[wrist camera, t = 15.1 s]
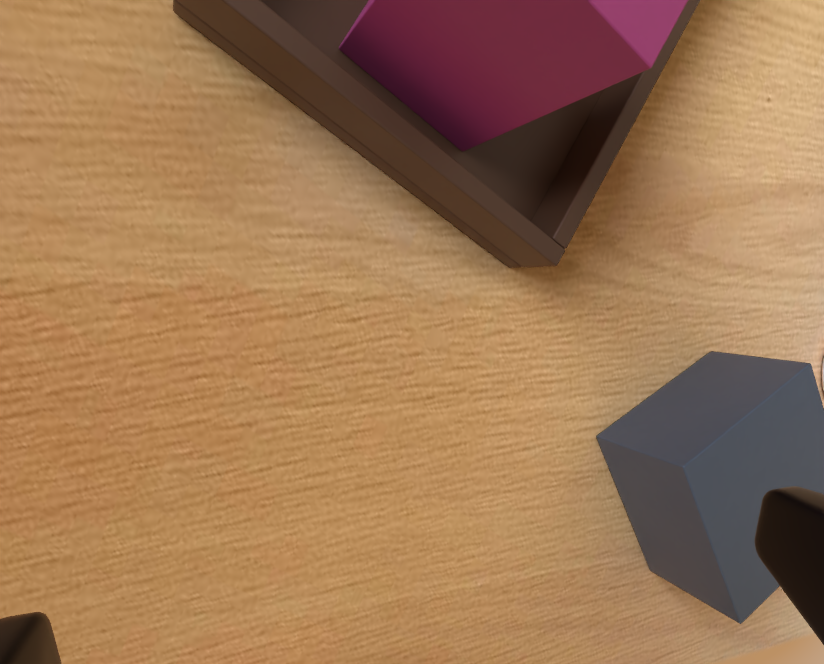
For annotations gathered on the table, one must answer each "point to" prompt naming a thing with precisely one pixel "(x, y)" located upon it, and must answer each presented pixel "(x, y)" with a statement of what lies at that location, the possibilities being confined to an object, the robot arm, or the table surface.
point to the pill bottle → (823, 374)
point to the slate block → (716, 470)
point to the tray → (422, 144)
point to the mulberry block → (504, 56)
